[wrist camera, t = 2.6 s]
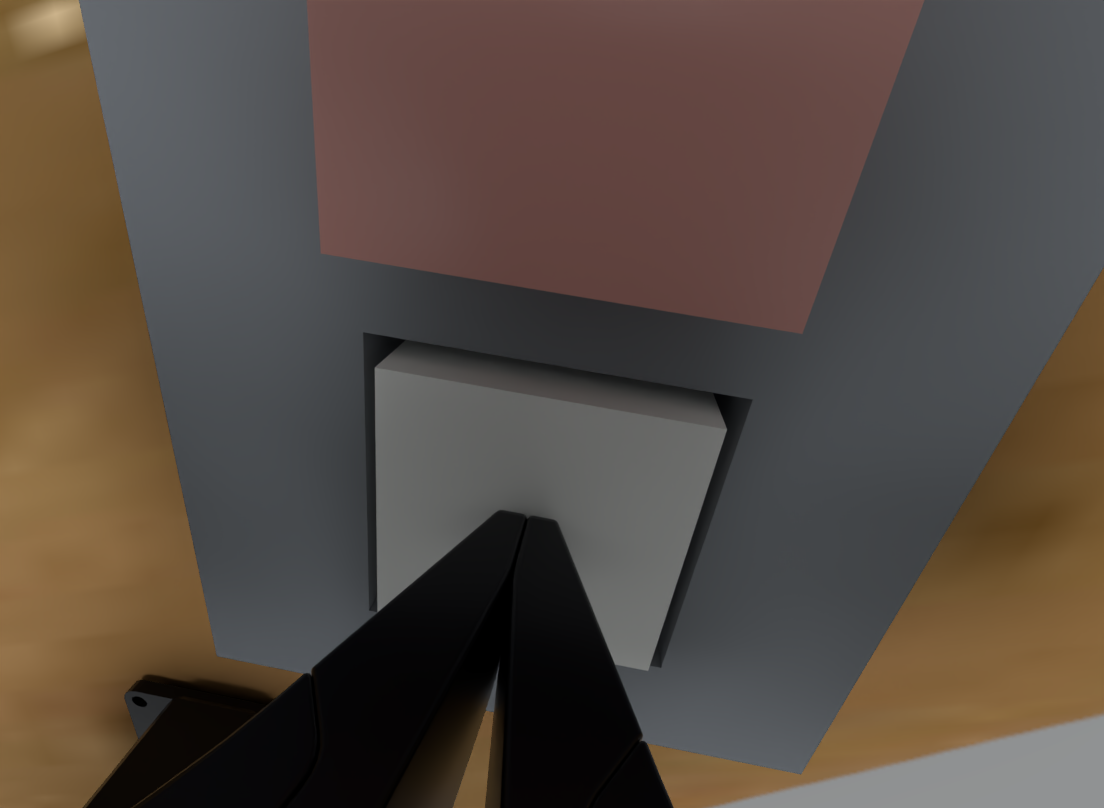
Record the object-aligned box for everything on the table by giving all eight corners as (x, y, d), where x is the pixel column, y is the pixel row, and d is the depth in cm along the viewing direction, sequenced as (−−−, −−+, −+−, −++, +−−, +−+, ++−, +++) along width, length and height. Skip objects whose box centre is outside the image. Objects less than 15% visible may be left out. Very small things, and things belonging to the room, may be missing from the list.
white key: (641, 544, 11) (647, 670, 8) (435, 505, 11) (377, 617, 9) (695, 347, 9) (727, 429, 6) (445, 304, 9) (374, 367, 7)
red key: (735, 267, 7) (803, 333, 5) (427, 216, 8) (321, 253, 5) (860, -163, 5) (1095, -471, 3) (440, -216, 6) (277, -555, 3)
